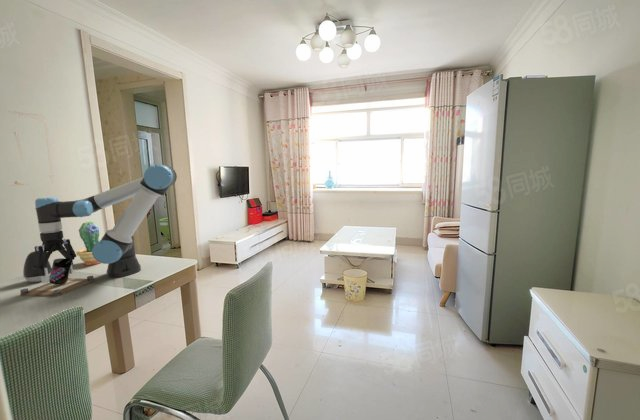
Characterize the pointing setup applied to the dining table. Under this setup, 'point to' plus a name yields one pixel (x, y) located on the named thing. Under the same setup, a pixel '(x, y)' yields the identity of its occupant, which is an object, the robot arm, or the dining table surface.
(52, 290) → the wooden tray
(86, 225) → the potted cactus
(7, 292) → the dining table surface
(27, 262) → the black egg-shaped dome
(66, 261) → the supplement container
